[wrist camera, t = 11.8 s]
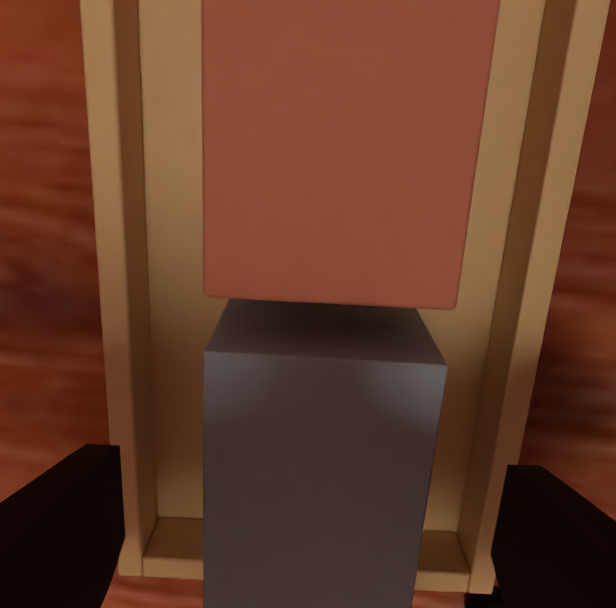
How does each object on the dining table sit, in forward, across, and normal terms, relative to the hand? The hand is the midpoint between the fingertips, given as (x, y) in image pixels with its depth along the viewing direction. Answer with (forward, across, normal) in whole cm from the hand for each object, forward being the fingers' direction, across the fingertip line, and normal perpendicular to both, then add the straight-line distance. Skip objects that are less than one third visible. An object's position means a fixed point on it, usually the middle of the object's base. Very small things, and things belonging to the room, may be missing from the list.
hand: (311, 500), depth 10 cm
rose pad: (+4, 0, -7) cm, 8 cm away
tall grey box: (+4, 0, 0) cm, 4 cm away
